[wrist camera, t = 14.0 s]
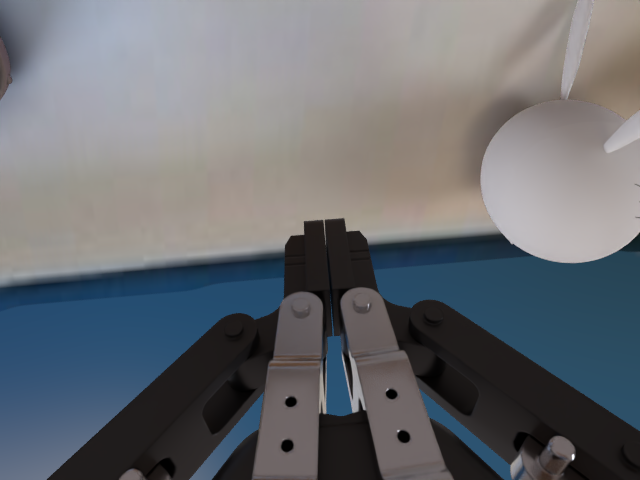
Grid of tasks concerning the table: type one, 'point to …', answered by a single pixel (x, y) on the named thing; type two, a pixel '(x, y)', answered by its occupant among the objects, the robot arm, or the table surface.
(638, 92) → the table surface
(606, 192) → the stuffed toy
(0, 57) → the flowerpot
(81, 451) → the robot arm
